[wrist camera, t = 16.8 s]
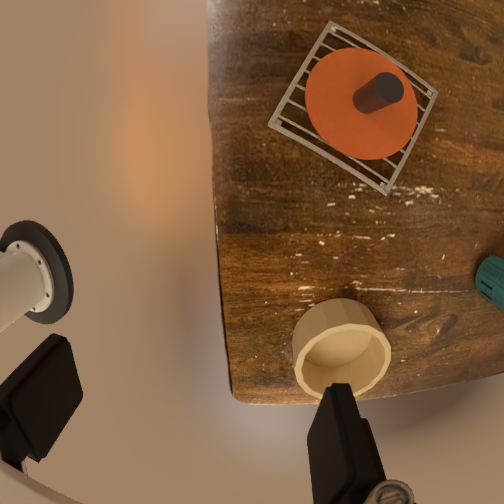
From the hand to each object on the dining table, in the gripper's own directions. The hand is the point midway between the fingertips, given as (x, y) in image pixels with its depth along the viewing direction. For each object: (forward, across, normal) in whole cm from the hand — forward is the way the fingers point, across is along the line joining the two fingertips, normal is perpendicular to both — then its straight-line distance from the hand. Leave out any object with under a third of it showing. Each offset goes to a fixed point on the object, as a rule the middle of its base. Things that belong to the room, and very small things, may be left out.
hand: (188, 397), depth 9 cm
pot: (+26, -14, +13) cm, 33 cm away
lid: (+24, -11, -16) cm, 31 cm away
